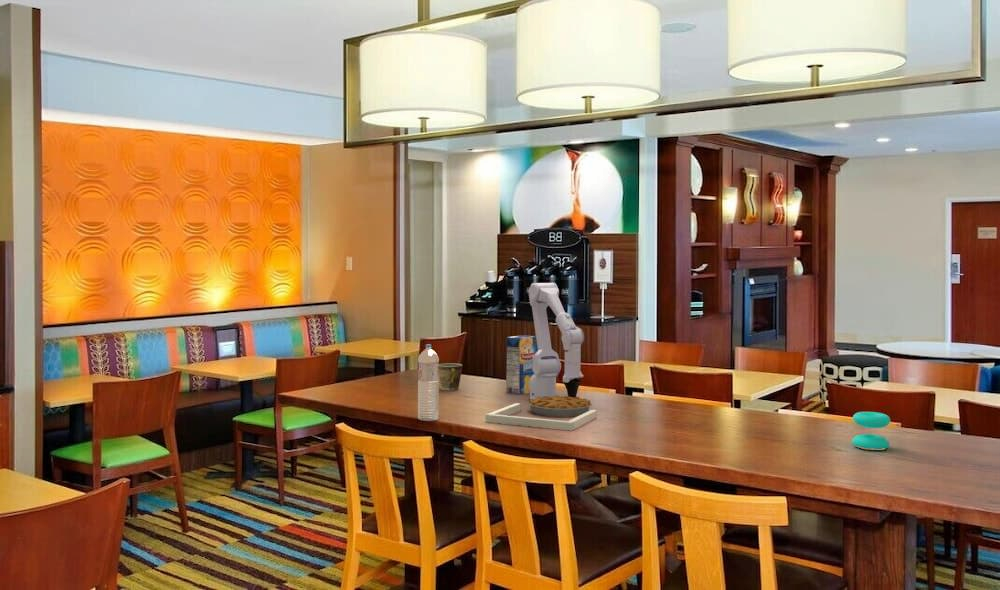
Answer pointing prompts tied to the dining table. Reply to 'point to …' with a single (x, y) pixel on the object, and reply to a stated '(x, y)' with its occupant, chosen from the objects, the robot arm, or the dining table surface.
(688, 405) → the dining table surface
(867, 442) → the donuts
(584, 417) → the serving corral
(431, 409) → the water bottle
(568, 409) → the pie
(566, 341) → the robot arm
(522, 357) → the beverage box
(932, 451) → the dining table surface
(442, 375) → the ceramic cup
